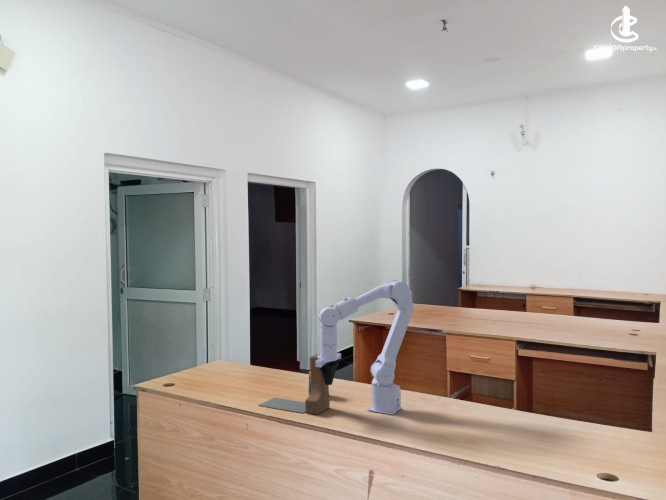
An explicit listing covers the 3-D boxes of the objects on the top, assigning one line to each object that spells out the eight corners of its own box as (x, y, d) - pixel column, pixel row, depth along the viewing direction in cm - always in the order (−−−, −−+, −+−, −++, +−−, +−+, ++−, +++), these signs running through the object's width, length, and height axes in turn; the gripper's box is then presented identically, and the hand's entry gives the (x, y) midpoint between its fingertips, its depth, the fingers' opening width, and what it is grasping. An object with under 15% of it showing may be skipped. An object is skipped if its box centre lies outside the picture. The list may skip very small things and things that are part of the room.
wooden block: (317, 414, 170) (314, 360, 170) (305, 413, 172) (302, 359, 173) (330, 407, 178) (327, 354, 178) (318, 405, 180) (316, 354, 180)
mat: (317, 405, 181) (317, 404, 181) (302, 413, 172) (302, 412, 172) (274, 398, 189) (274, 397, 189) (258, 405, 180) (258, 405, 180)
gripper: (328, 339, 181) (328, 377, 181) (307, 346, 168) (307, 388, 168) (346, 340, 178) (346, 380, 178) (326, 348, 165) (326, 390, 165)
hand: (328, 384), depth 173 cm, fingers closed
